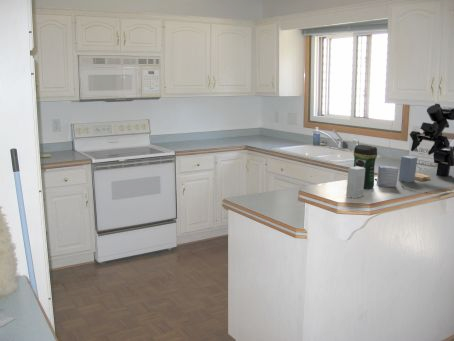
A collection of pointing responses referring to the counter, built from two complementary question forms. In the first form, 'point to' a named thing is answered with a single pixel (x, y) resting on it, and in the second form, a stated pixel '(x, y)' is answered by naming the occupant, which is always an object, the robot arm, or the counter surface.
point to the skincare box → (355, 182)
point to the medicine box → (387, 176)
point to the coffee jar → (366, 162)
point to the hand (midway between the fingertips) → (419, 152)
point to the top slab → (421, 177)
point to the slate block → (407, 168)
